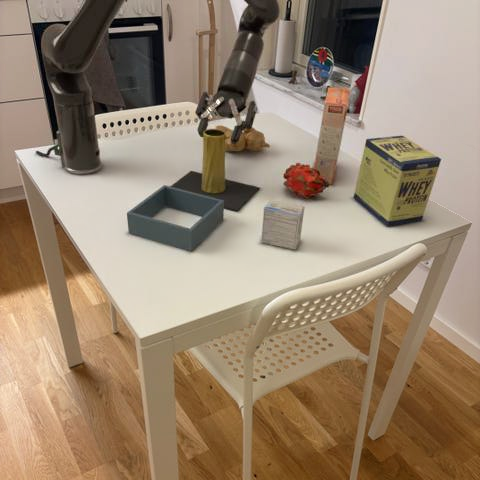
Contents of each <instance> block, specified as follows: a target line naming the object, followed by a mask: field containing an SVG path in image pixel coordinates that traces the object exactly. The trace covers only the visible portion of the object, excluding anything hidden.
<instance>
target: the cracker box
mask: <svg viewBox="0 0 480 480" xmlns="http://www.w3.org/2000/svg"><path fill="white" fill-rule="evenodd" d="M350 91H351V90H350V89H348V88H344V87H343V88H342V87H341V88H340V87H332V86H329V87H328V88H327V93H326V96H325V101H324V107H323V110H322V116H321V122H320V129H319V135H318V141H317V146H316V147H317V148H316V151H315V160H314V166H313V168H314V169H317V170H318V171H319V172H320V174H319V175H320V176H321V177H324V178H325V179H327V181H328V183H329V184H328V185H331V186H332V185H333V184H334V179H335V173H336V170H337V164H338V159H339V155H340V149H341V144H342V139H343V134H344V129H345V124H346V118H347V114H348V108H349V100H350ZM317 174H318V173H317Z"/></svg>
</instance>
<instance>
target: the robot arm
mask: <svg viewBox="0 0 480 480" xmlns="http://www.w3.org/2000/svg"><path fill="white" fill-rule="evenodd" d="M126 1H127V0H82V2H81V4H80V6H79V8H78V10H77V11H76V12H75V14H74V15H73V17H72V18H71V20H70V21H69V22H68V24H67V25H66V24H63V23H54V24H51V25H49V26H48V27H46V29H44V32H43V33H42V36H41V42H40V47H41V54H42V60H43V65H44V70H45V71H44V72H45V75H46V80H47V84H48V87H49V90H50V92H51V95H52V98H53V99H52V100H53V104H54V110H55V116H56V121H57V122H56V123H57V129H58V130H57V131H56V133H55V134H56V140H57V144H55V145H53V146H51V147H49V148H48V149H47V151H46V153H44V152H41V151H40V150H36V151H35V154H36V155H39V156H41V157H44V158H46V157H49V156H50V155H51V152H52V151H53V152H54V155H55V156H59V157H60V163H61V168H62V169H65V171H66V172H68V173H70V174H74V175H89V174H93V173H97V172H99V170H101V168H102V161H101V147H100V146H99V145H100V144H99V138H98V130H97V122H96V121H97V120H96V113H95V106H94V99H93V91H92V88H91V86H90V84H89V82H88V80H87V78H86V74H85V70H86V69H87V68H88V66H89V65H90V64H91V63H92V60H93V58H94V56H95V54H96V52H97V51H98V48H99V46H100V44H101V42H102V41H103V38H104V36H105V34H106V33H107V31H108V29H109V27H110V25H111V24H112V22H113V21H114V20H115V18H116V17H117V15H118V13H119V12H120V11H121V9H122V8H123V6H124V5H125V2H126ZM243 1H244V2H245V3H246V4H247V6H246V7H245V8H244V10H243V12H242V14H241V16H240V18H239V21H238V28H237V36H236V39H235V42H234V44H233V47H232V49H231V53H230V55H229V57H228V59H227V61H226V64H225V67H223V71H222V75H221V77H220V80H219V83H218V86H217V89H216V90H217V91H216V93H215V94H214V95H213V94H209V93H208V92H207V91H203V92H202V95H201V97H200V100H199V101H198V104H197V107H196V110H195V112H194V113H195V115H196V116H197V118H198V120H199V123H198V126H197V129H196V130H197V134H198V136H199V137H200V138H203V133H204V131H205V130H207V129H208V126H209V122H210V121H212V120H214V119H217V117H221V118H227V119H231V120H232V119H234V120H235V123H236V125H234V128H233V130H234V131H233V133H232V136H231V142H232V144H236V142H238V141H239V139H240V136H241V133H242V132H244V131H243V130H244V129H251V128H252V127H253V125H254V121H255V118H256V114H257V111H258V106H257V104H256V102H255V101H254V100H251V101H250V102H248V101H247V100H248V98H249V95H250V92H251V90H252V87H253V84H254V81H255V78H256V77H257V76H256V75H257V72H258V66H259V64H260V61H261V59H262V55H263V52H264V48H265V44H264V43H265V42H264V39H263V37H264V36H265V33H266V32H267V30H268V29H269V28H270V27H272V26H273V25H274V24H275V23H276V22H277V21H278V19H279V18H280V15H281V8H280V4H279V1H278V0H243ZM212 102H213V103H212ZM211 103H212V104H211ZM244 110H246V115H245V120H244V121H243V120H242V119H243V118H242V116H241V113H242V112H243V111H244Z"/></svg>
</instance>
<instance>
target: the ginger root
mask: <svg viewBox="0 0 480 480" xmlns="http://www.w3.org/2000/svg"><path fill="white" fill-rule="evenodd" d="M242 121H245V120H242ZM214 129H220V130H223V131H225V133H226V138H225V152H230V153H231V152H240V151H242V150H250V151H252V152H258V151H261V150H262V149H263V148H266V149H267V148H270V146H271V145H270V144H269V143H267V142H266V137H265V134H264V133H263V132H262V131H259V130H257V129H255V128H254V127H253V126H252V128H251V129H244V130H243V131H242V133H241V136H240V139H239V141H238V142H236V144H232V142H231V136H232V133H233V131H234V129H231V128H229V127H227V126H225V125H216V126H215V128H214Z"/></svg>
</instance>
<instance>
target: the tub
mask: <svg viewBox="0 0 480 480" xmlns="http://www.w3.org/2000/svg"><path fill="white" fill-rule="evenodd" d="M166 207H168V208H171V209H174V210H178V211H182V212H186V213H190V214H193V215H197V216H200V219H198V221H196V222H195V223H194V224H193V225H192V226H191V227H190V228H189V227H185V226H182V225H179V224H175V223H172V222H168V221H165V220H161V219H157V218H154V217H155V216H156V215H158V214H159V213H160V212H161V211H162V210H164V209H165V208H166ZM224 209H225V208H224V200H220V199H216V198H212V197H209V196H205V195H201V194H197V193H193V192H189V191H185V190H181V189H177V188H174V187H170V185H165V184H163V185H162V186H161V187H159V188H158V189H157V190H155V191H154V192H152V193H151V194H150V195H149V196H148V197H146V198H145V199H143V200H142V201H140V202H139V203H138V204H137V205H136V206H134V207H133V208H132V209H129V210H128V212H126V219H127V221H126V222H127V229H128V234H131V235H133V236H137V237H140V238H144V239H147V240H151V241H154V242H157V243H161V244H164V245H167V246H170V247H175V248H177V249H181V250H184V251H188V252H193V251H194V250H195V249H196V248H197V247H198V246H199V245H200V244H201V243H202V242H203V241H204V240H205V239H206V238H207V237H208V236H209V235H210V234H211V233H212V232H213V231H214V230H216V229H217V227H218V226H219V225H220V224H221V223H222V222H223V221H224V214H225V211H224Z"/></svg>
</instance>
